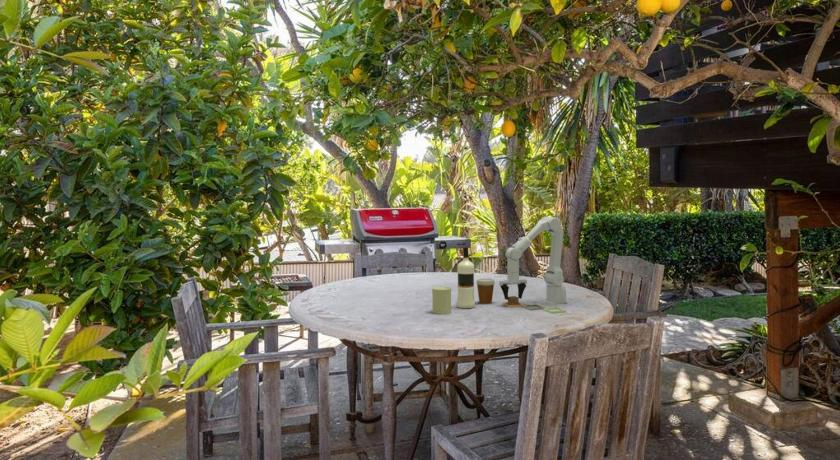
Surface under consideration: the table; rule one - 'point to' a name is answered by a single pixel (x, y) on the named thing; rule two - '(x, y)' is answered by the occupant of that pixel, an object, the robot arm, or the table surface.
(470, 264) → the vodka
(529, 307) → the slate dish
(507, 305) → the terracotta dish
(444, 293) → the can
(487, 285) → the disposable coffee cup
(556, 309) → the sage dish
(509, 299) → the letter cube
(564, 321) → the table surface
